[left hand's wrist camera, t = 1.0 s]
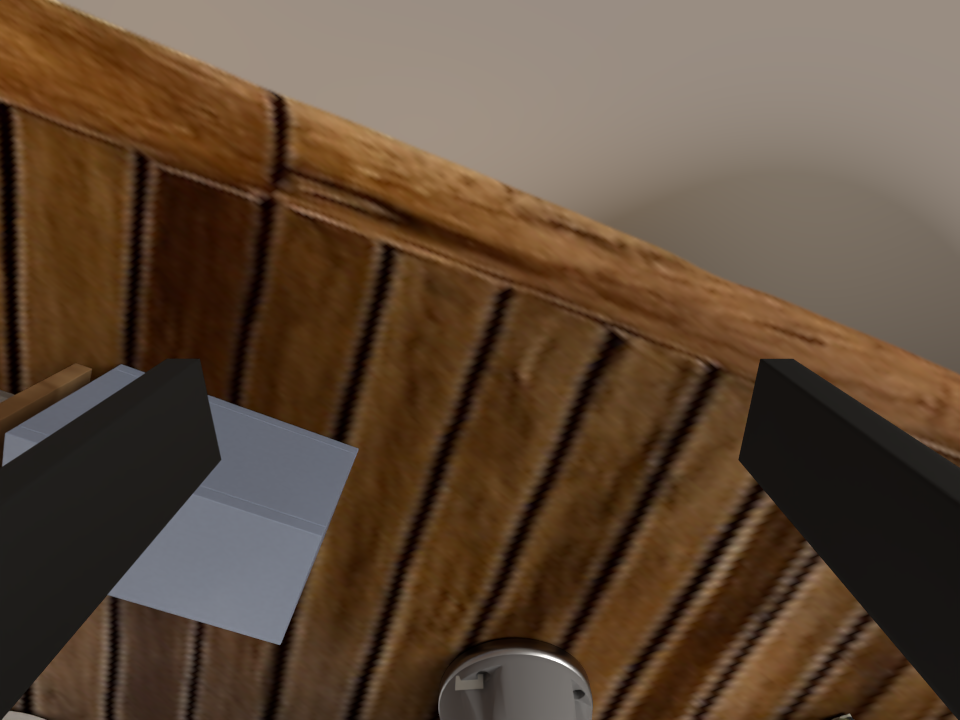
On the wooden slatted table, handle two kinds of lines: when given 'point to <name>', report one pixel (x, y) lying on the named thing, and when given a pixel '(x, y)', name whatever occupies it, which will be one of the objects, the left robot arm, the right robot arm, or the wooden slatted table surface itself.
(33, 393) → the drawer
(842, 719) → the fossil
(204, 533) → the cabinet
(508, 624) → the wooden slatted table surface
